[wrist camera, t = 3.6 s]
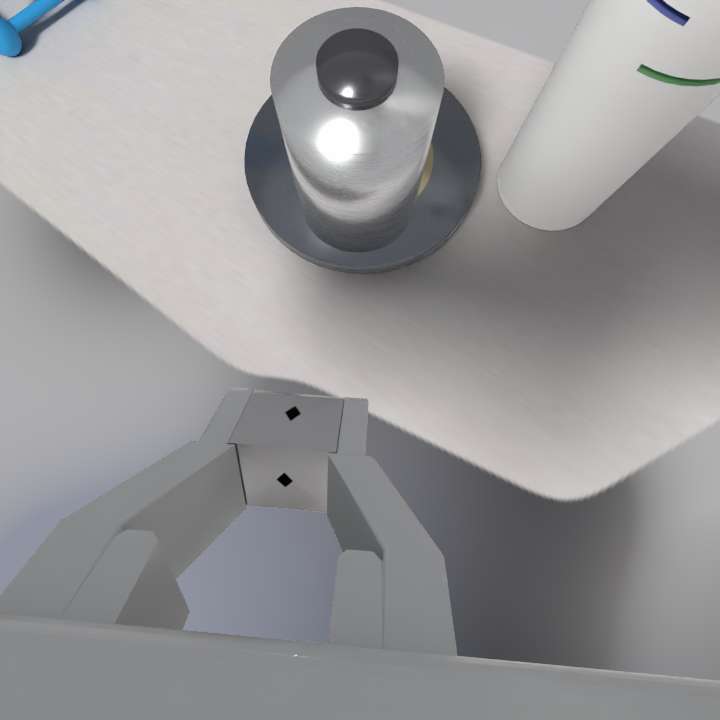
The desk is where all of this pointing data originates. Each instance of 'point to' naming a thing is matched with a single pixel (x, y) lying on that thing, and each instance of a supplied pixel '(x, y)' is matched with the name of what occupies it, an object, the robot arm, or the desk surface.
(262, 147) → the turntable platter
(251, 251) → the desk surface
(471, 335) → the desk surface
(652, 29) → the cylindrical container
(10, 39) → the molecular structure
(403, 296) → the desk surface
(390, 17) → the silver metal canister
